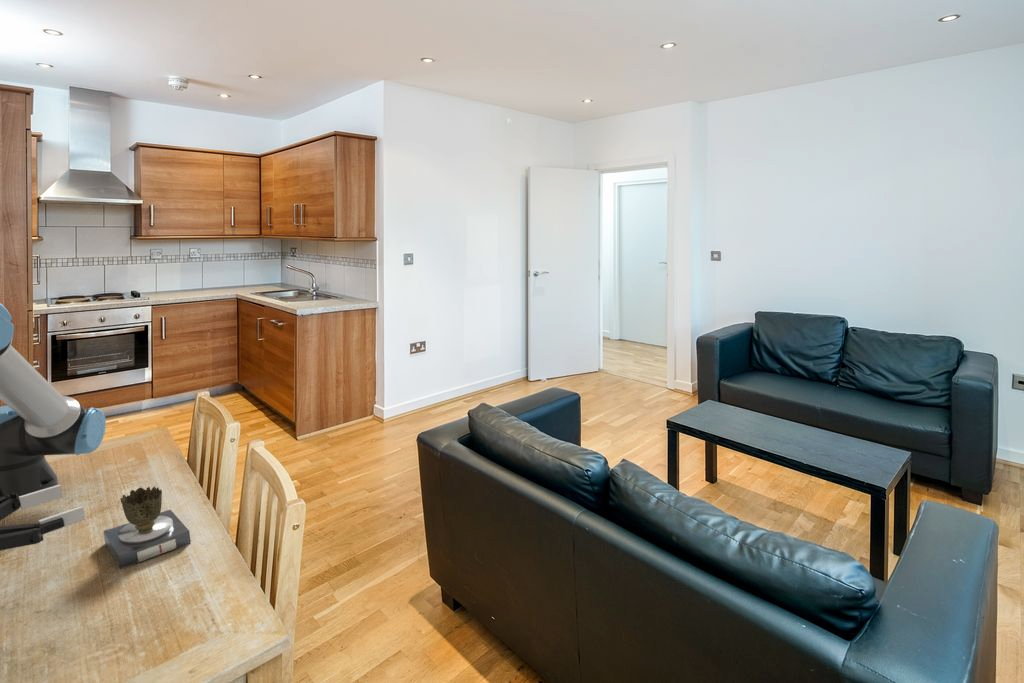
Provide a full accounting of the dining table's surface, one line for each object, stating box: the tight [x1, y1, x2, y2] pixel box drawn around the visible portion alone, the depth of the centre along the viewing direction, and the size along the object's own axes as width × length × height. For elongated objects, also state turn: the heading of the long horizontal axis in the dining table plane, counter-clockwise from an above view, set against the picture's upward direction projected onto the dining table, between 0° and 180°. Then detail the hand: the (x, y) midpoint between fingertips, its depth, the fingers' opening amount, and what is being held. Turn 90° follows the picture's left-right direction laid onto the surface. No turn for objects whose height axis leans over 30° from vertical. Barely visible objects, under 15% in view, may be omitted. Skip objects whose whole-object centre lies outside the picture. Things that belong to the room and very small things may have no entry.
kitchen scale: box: [103, 509, 191, 569], centre depth 120 cm, size 14×13×4 cm
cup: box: [120, 486, 163, 531], centre depth 119 cm, size 8×7×8 cm
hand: (72, 501), depth 110 cm, fingers open, 13 cm apart
